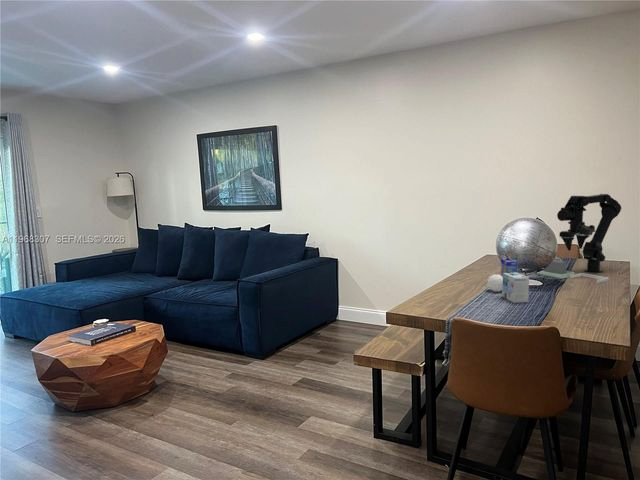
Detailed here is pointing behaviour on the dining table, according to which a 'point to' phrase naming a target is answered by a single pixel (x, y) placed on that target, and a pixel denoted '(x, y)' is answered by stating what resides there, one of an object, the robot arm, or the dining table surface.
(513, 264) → the ink cartridge box
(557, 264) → the grey box with tab
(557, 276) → the tray
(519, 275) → the light bulb box
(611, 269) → the dining table surface
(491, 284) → the white rounded piece
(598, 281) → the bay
